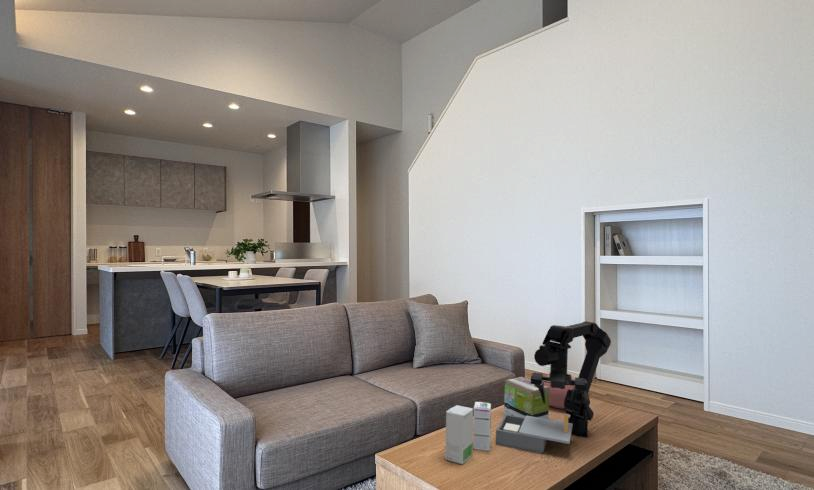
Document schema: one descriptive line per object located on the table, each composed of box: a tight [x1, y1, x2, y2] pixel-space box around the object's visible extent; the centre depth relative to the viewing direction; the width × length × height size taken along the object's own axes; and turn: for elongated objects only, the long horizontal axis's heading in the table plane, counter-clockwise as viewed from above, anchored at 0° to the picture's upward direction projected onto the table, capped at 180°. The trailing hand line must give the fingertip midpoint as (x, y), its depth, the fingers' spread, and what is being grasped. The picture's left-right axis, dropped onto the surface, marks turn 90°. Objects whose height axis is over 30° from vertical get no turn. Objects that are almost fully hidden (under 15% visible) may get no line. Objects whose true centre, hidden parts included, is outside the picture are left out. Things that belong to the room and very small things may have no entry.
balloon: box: [544, 372, 575, 410], centre depth 194 cm, size 15×20×15 cm
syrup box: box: [472, 401, 492, 452], centre depth 156 cm, size 6×6×14 cm
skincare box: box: [444, 404, 474, 465], centre depth 148 cm, size 8×7×16 cm
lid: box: [519, 414, 573, 445], centre depth 159 cm, size 16×16×6 cm
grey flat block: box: [495, 414, 548, 455], centre depth 163 cm, size 16×16×5 cm
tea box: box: [503, 376, 550, 419], centre depth 182 cm, size 15×10×15 cm, turn 33°
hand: (557, 405), depth 162 cm, fingers open, 9 cm apart
